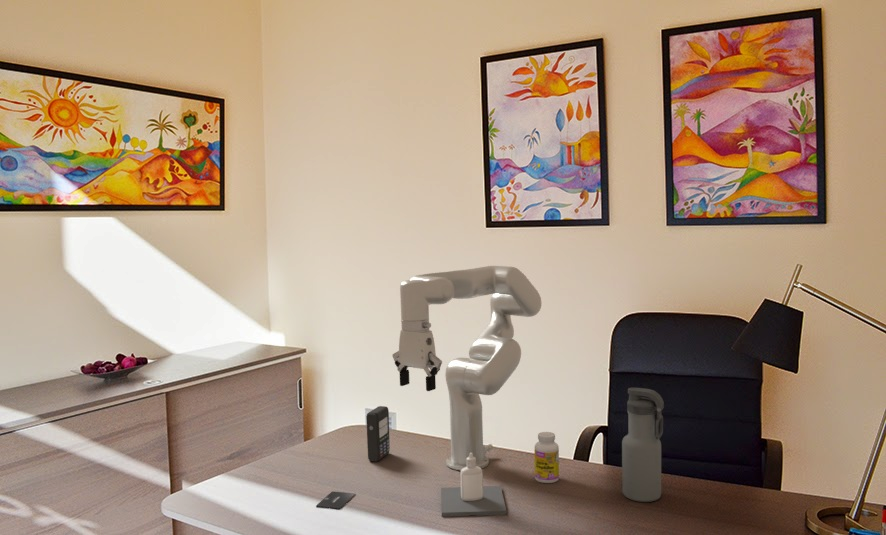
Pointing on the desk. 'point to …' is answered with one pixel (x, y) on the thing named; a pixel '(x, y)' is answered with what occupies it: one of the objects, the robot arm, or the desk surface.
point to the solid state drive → (335, 500)
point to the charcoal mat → (472, 502)
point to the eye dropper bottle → (471, 480)
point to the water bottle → (642, 446)
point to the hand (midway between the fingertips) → (417, 387)
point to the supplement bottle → (546, 458)
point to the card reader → (378, 433)
